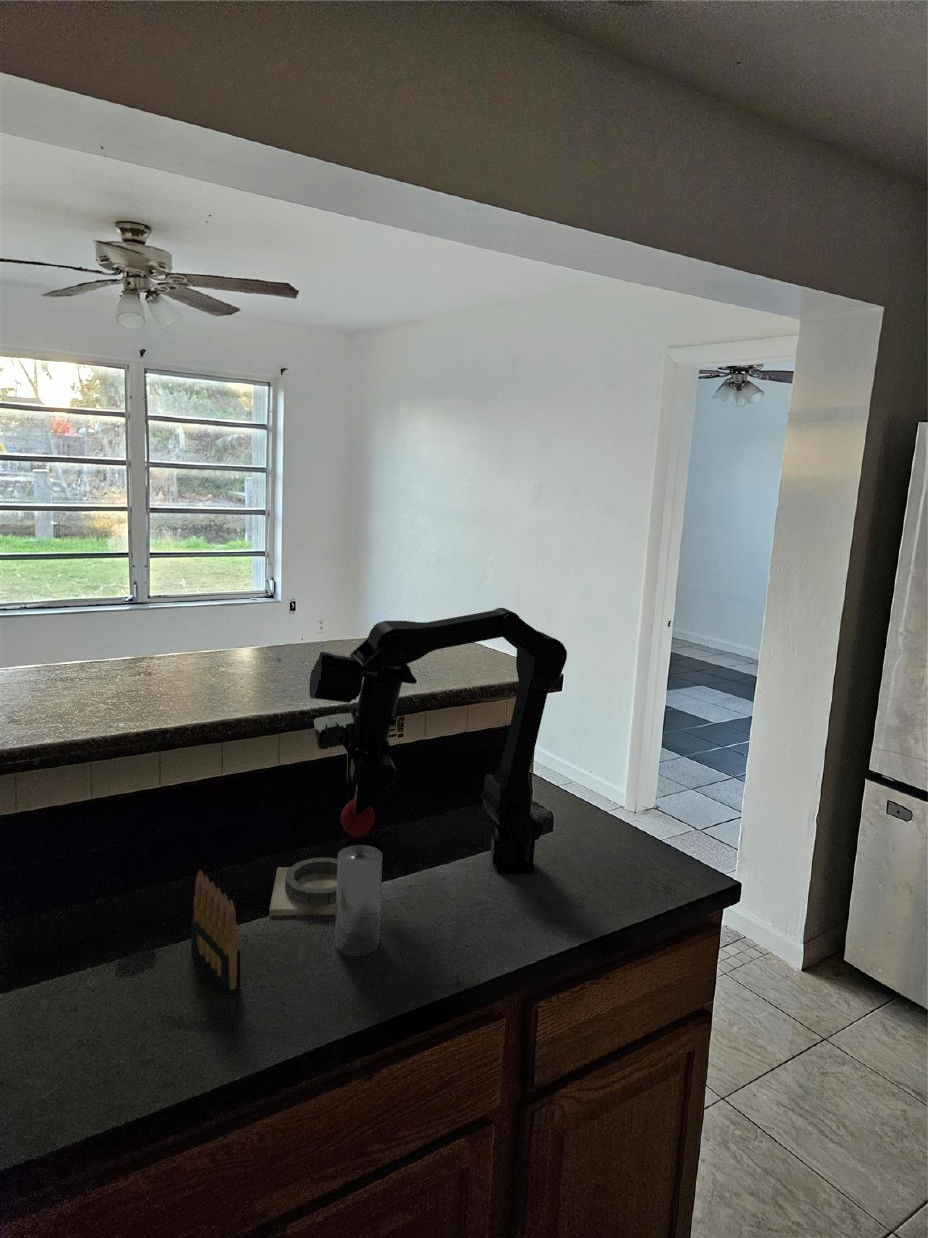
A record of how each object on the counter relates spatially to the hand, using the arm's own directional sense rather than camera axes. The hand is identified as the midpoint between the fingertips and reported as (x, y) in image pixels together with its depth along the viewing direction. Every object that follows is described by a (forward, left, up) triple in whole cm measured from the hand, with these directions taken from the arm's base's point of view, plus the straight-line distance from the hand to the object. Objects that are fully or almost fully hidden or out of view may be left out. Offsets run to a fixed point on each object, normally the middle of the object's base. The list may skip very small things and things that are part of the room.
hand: (354, 799), depth 121 cm
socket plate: (+5, +3, -14) cm, 15 cm away
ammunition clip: (+17, +21, -14) cm, 31 cm away
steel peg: (-1, +16, -14) cm, 21 cm away
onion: (-1, -15, -14) cm, 20 cm away
